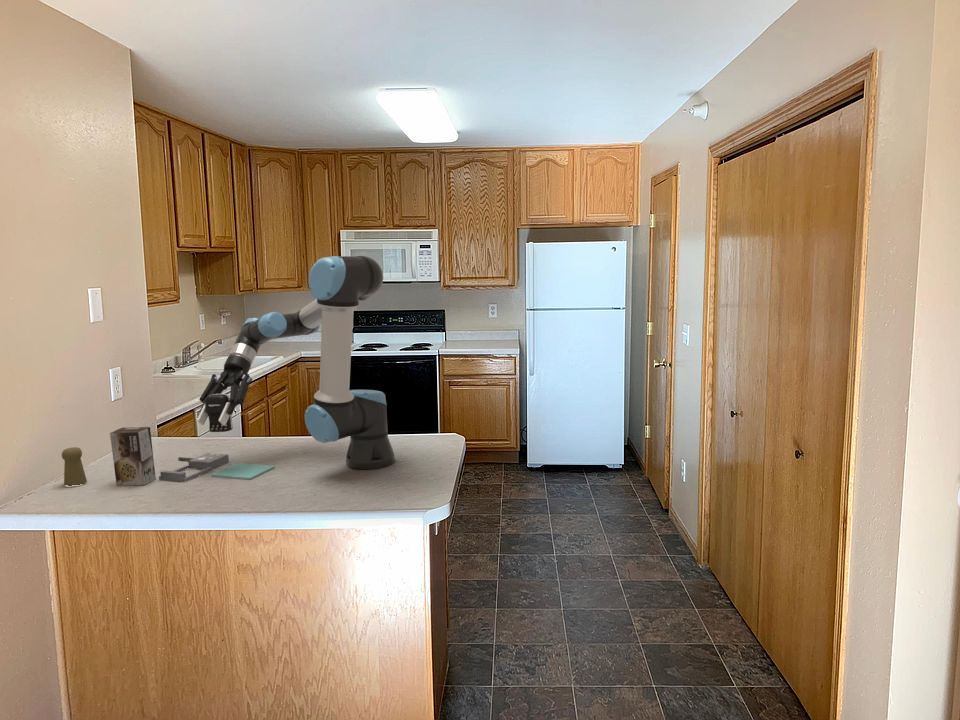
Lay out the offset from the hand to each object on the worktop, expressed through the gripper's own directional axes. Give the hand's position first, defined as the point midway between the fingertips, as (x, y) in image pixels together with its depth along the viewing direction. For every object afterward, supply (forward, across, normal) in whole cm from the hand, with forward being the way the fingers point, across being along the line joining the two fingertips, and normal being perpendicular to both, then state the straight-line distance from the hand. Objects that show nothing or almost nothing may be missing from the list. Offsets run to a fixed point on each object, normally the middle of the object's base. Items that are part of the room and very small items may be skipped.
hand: (211, 422), depth 205 cm
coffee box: (+19, +21, -4) cm, 28 cm away
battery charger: (0, 0, -5) cm, 5 cm away
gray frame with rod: (+9, +15, -14) cm, 22 cm away
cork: (+22, +38, 0) cm, 44 cm away
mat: (+8, -6, -15) cm, 18 cm away
